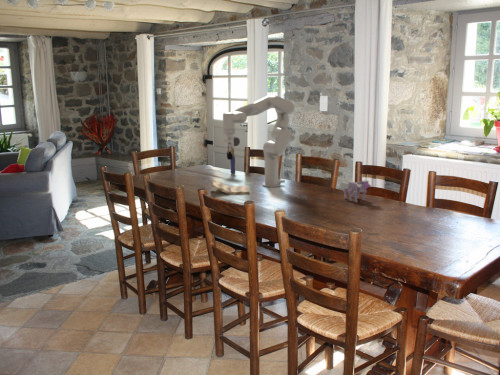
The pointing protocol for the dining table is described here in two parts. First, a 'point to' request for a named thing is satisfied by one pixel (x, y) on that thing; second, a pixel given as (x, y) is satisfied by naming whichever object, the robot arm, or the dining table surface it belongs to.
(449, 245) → the dining table surface
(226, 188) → the oak plank
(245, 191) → the laid board
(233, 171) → the rubber mallet
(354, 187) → the toy sheep
